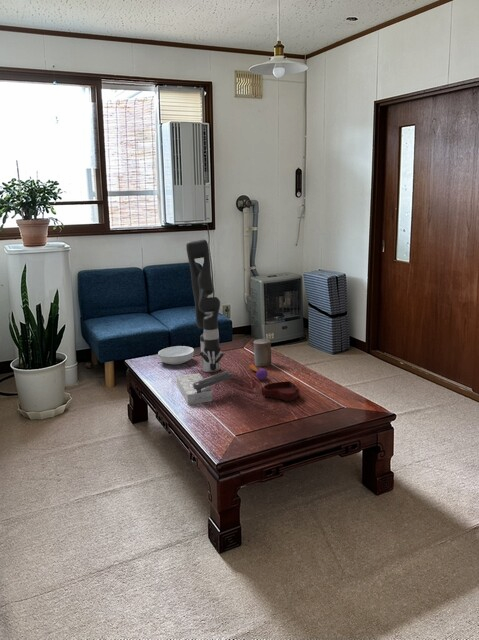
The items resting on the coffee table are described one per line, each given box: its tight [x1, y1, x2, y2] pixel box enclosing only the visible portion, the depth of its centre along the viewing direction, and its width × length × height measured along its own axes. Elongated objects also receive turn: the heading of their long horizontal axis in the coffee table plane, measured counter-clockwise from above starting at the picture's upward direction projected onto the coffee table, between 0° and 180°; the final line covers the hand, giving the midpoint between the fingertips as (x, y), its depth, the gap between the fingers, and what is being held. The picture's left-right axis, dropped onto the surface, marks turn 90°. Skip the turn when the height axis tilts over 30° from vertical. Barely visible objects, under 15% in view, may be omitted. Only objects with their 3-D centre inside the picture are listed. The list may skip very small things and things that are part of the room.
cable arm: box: [193, 370, 234, 389], centre depth 271 cm, size 5×22×3 cm, turn 134°
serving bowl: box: [157, 345, 195, 365], centre depth 327 cm, size 21×21×7 cm
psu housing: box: [176, 372, 214, 406], centre depth 277 cm, size 12×28×7 cm, turn 17°
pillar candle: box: [253, 338, 273, 368], centre depth 315 cm, size 10×10×15 cm
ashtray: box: [260, 380, 300, 403], centre depth 269 cm, size 18×16×5 cm
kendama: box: [249, 363, 268, 381], centre depth 299 cm, size 6×6×20 cm
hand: (213, 370), depth 280 cm, fingers closed
